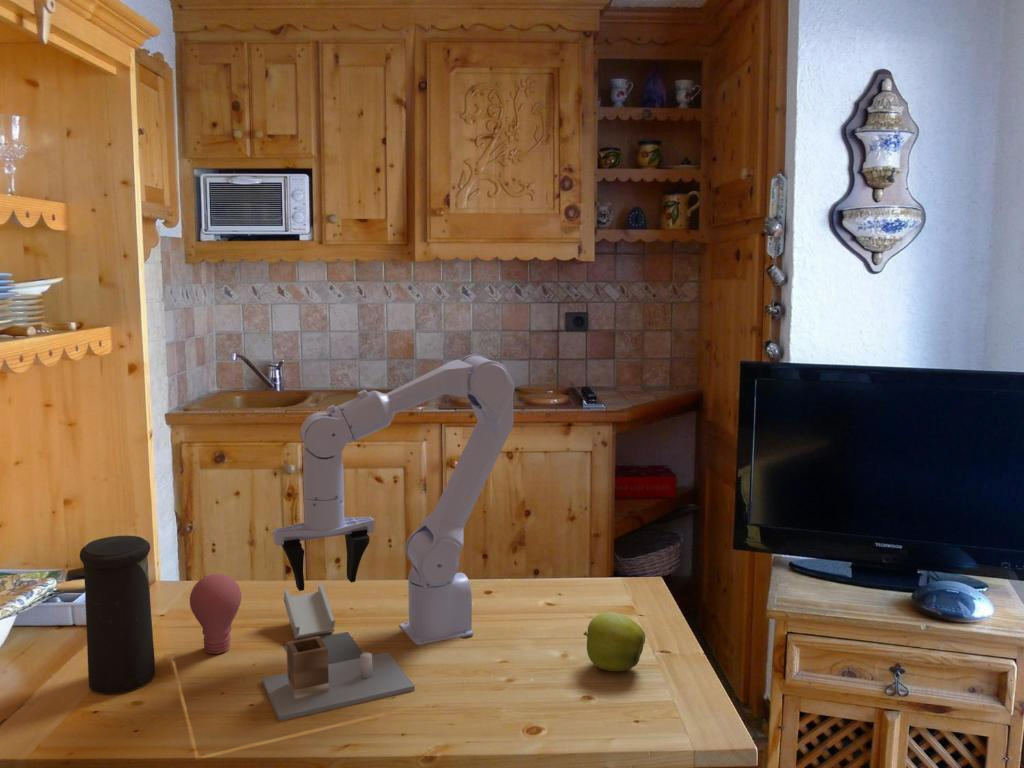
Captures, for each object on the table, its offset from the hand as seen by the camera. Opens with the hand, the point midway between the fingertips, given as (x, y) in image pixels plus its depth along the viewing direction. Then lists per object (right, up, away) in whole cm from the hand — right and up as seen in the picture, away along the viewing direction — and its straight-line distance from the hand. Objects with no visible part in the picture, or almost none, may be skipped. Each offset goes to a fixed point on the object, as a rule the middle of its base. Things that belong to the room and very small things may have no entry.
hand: (326, 584), depth 128 cm
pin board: (+4, -12, -11) cm, 16 cm away
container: (-26, -11, -9) cm, 30 cm away
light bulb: (-16, -10, -1) cm, 19 cm away
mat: (0, -10, -1) cm, 10 cm away
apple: (+42, -11, -4) cm, 44 cm away
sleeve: (0, -11, -13) cm, 17 cm away
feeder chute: (-4, -9, +7) cm, 12 cm away
